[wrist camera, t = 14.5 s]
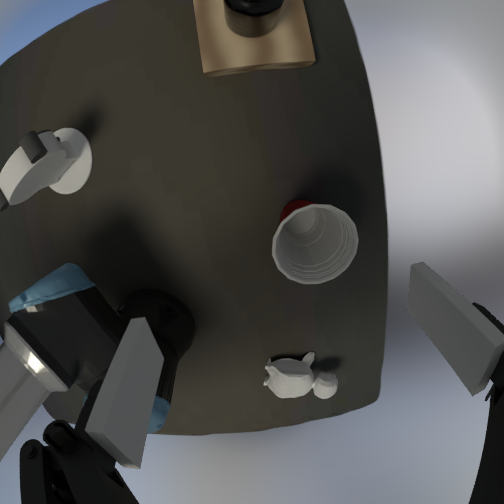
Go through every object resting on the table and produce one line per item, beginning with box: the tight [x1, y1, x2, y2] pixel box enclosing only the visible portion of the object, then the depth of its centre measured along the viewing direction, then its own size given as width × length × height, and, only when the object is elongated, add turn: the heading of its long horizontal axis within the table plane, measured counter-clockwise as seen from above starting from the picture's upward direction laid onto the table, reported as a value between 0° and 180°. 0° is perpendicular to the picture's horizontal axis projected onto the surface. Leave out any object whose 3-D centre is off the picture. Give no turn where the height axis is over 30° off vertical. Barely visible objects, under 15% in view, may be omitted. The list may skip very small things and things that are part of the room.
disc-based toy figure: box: [0, 128, 93, 211], centre depth 32 cm, size 12×11×15 cm
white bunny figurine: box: [264, 352, 338, 399], centre depth 54 cm, size 9×8×15 cm
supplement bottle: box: [223, 0, 284, 38], centre depth 23 cm, size 7×7×12 cm
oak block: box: [193, 0, 316, 78], centre depth 31 cm, size 15×15×4 cm
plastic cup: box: [272, 200, 359, 284], centre depth 39 cm, size 11×11×12 cm
